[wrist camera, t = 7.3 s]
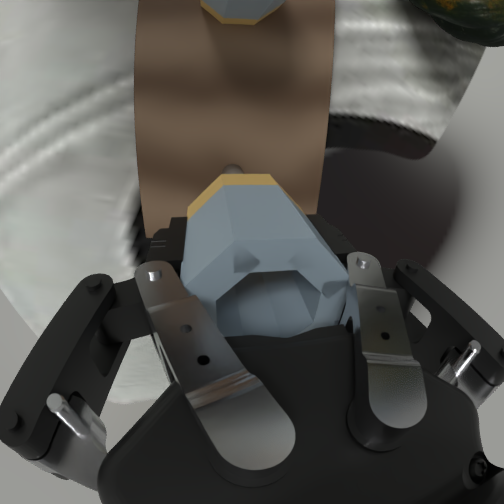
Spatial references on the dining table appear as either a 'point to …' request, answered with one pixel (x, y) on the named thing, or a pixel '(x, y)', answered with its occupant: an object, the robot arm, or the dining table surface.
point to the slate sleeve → (259, 260)
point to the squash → (468, 19)
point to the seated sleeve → (240, 10)
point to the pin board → (229, 101)
